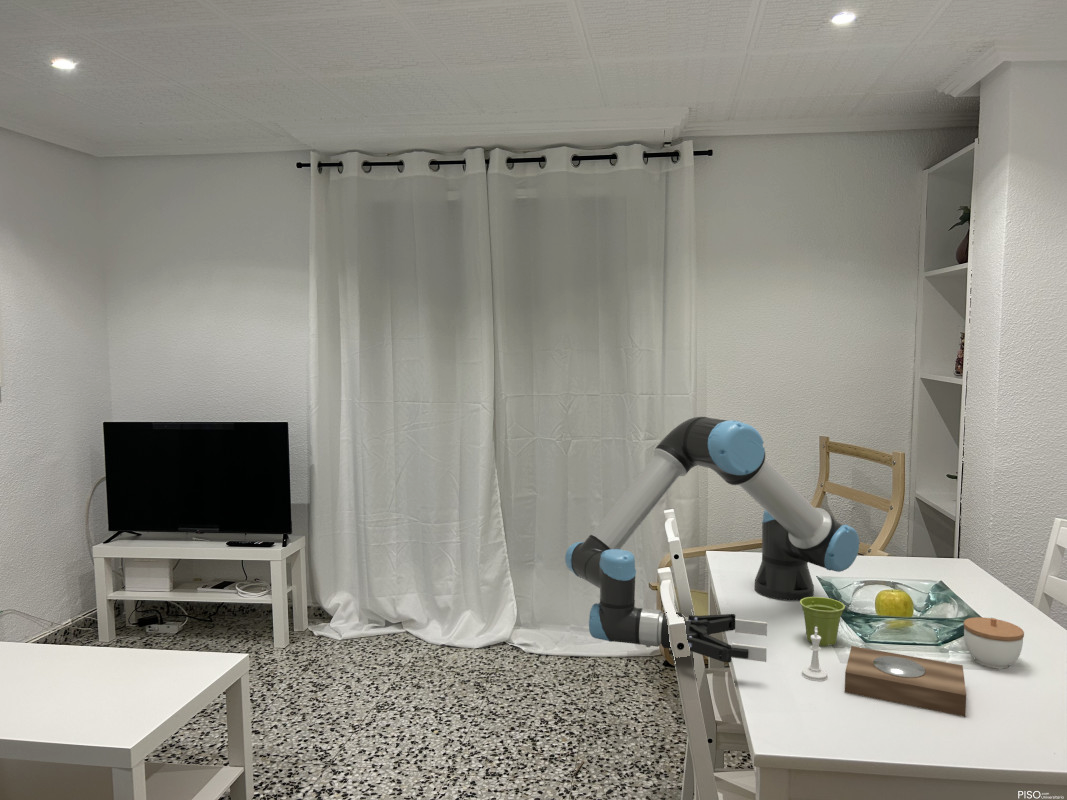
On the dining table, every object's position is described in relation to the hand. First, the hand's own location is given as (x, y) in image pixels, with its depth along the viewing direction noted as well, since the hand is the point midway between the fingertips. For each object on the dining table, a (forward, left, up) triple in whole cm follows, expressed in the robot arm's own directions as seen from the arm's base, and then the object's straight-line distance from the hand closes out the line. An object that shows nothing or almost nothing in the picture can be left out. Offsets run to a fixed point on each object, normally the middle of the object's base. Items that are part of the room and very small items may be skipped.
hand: (766, 641), depth 151 cm
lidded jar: (-26, +41, -6) cm, 49 cm away
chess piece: (-2, +9, -6) cm, 11 cm away
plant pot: (-21, +8, -6) cm, 23 cm away
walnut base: (-4, +25, -6) cm, 26 cm away
